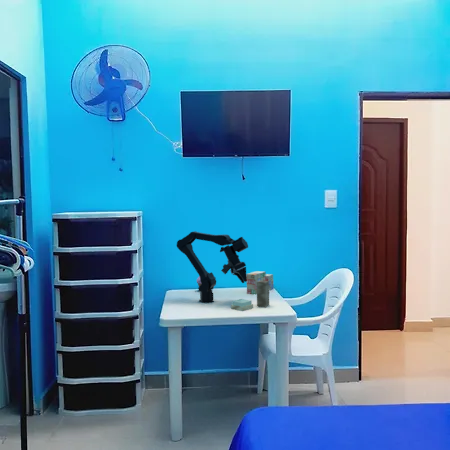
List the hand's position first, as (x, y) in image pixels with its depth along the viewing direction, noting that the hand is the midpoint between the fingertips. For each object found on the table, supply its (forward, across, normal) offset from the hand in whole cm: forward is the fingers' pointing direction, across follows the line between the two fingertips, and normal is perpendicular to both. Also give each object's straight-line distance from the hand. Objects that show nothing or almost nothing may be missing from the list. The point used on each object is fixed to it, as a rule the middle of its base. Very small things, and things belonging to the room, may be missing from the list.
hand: (244, 282), depth 247 cm
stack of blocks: (+9, -37, +12) cm, 40 cm away
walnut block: (+15, +3, +3) cm, 16 cm away
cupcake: (-6, -45, -18) cm, 49 cm away
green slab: (+10, +7, -8) cm, 14 cm away
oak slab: (+12, +6, -8) cm, 16 cm away
